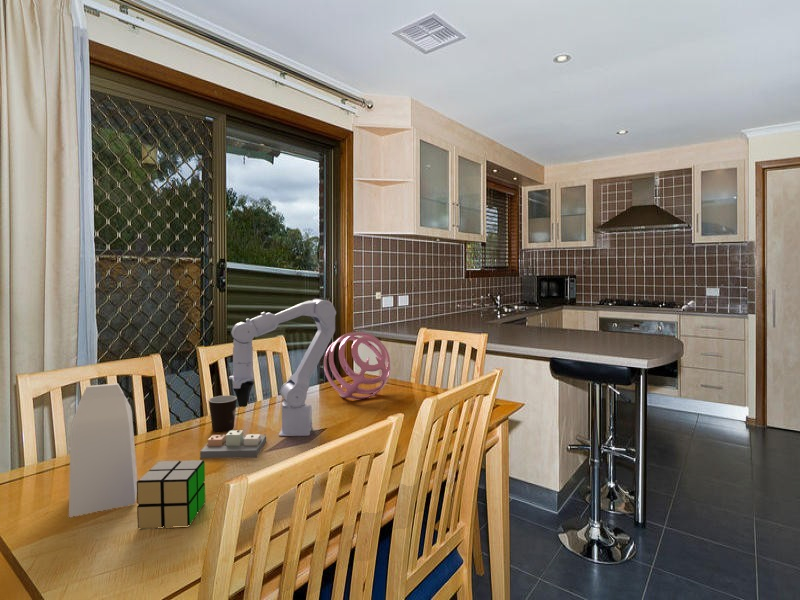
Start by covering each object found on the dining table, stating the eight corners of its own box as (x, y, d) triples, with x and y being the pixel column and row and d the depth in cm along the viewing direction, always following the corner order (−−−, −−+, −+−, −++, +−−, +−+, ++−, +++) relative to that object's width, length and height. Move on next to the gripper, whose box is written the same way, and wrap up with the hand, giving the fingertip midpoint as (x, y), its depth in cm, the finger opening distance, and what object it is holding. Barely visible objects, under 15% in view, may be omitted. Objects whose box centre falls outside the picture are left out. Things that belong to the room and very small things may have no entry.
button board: (266, 441, 139) (266, 435, 139) (256, 457, 127) (256, 450, 127) (214, 442, 138) (214, 435, 138) (200, 458, 126) (200, 451, 126)
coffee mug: (226, 435, 144) (225, 403, 144) (203, 432, 147) (202, 401, 146) (247, 423, 155) (247, 394, 155) (226, 421, 158) (225, 392, 157)
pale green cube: (243, 441, 134) (243, 429, 134) (239, 446, 131) (239, 434, 130) (229, 441, 134) (229, 429, 134) (226, 446, 130) (225, 434, 130)
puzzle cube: (159, 504, 101) (158, 460, 101) (205, 503, 102) (205, 459, 101) (136, 530, 91) (135, 481, 91) (189, 528, 92) (188, 479, 91)
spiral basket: (315, 344, 202) (338, 314, 183) (372, 355, 214) (400, 328, 195) (311, 405, 187) (337, 379, 167) (373, 413, 199) (404, 389, 179)
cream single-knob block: (260, 445, 135) (260, 433, 135) (257, 450, 131) (257, 438, 131) (247, 445, 135) (247, 433, 134) (243, 450, 131) (243, 438, 131)
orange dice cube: (225, 446, 134) (225, 434, 134) (221, 451, 130) (221, 438, 130) (212, 446, 134) (212, 434, 134) (208, 451, 130) (207, 438, 130)
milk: (68, 517, 95) (64, 394, 94) (77, 493, 106) (74, 382, 104) (135, 504, 101) (132, 388, 99) (137, 483, 111) (135, 377, 110)
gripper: (236, 357, 146) (236, 399, 147) (221, 366, 132) (222, 413, 132) (258, 357, 147) (259, 399, 147) (247, 366, 132) (247, 413, 133)
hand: (243, 406), depth 140 cm, fingers closed
